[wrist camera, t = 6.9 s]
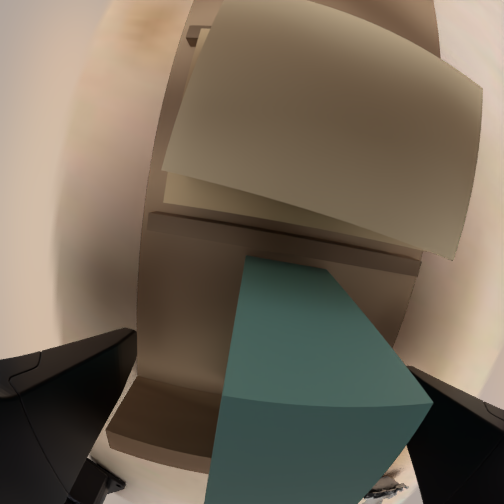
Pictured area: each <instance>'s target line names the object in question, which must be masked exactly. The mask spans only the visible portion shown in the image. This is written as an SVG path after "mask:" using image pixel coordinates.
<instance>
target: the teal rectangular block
mask: <svg viewBox="0 0 504 504" xmlns="http://www.w3.org/2000/svg"><path fill="white" fill-rule="evenodd" d="M432 404H433V401H432V400H431V398H430V397H429V396H428V394H427V393H426V392H425V390H424V389H423V388H422V386H421V385H420V384H419V382H418V381H417V380H416V378H415V377H414V376H413V375H412V373H411V372H410V371H409V369H408V368H407V367H406V365H405V364H404V363H403V362H402V360H401V359H400V358H399V356H398V355H397V354H396V353H395V351H394V350H393V349H392V348H391V346H390V345H389V344H388V343H387V341H386V340H385V339H384V338H383V336H382V335H381V334H380V333H379V331H378V330H377V329H376V328H375V326H374V325H373V324H372V323H371V321H370V320H369V319H368V318H367V317H366V315H365V314H364V313H363V312H362V311H361V309H360V308H359V307H358V306H357V305H356V303H355V302H354V301H353V300H352V299H351V297H350V296H349V295H348V294H347V293H346V291H345V290H344V289H343V288H342V287H341V286H340V284H339V283H338V282H337V281H336V280H335V279H334V277H333V276H332V275H331V274H330V273H329V272H328V270H327V269H322V268H316V267H310V266H305V265H299V264H293V263H287V262H282V261H276V260H270V259H264V258H259V257H253V256H247V255H246V258H245V264H244V269H243V275H242V281H241V286H240V292H239V298H238V304H237V309H236V315H235V321H234V327H233V333H232V338H231V344H230V350H229V356H228V362H227V368H226V374H225V379H224V385H223V391H222V397H221V403H220V409H219V415H218V421H217V428H216V434H215V440H214V446H213V452H212V458H211V464H210V470H209V477H208V483H207V489H206V495H205V502H204V504H358V503H359V502H360V501H361V500H362V498H363V497H364V496H365V495H366V494H367V493H368V492H369V491H370V490H371V489H372V488H373V486H374V485H375V484H376V483H377V482H378V481H379V479H380V478H381V477H382V476H383V475H384V473H385V472H386V471H387V470H388V469H389V467H390V466H391V465H392V463H393V462H394V461H395V460H396V458H397V457H398V456H399V454H400V453H401V452H402V450H403V449H404V447H405V446H406V445H407V443H408V442H409V440H410V439H411V438H412V436H413V435H414V433H415V432H416V430H417V429H418V427H419V426H420V424H421V422H422V421H423V419H424V418H425V416H426V414H427V413H428V411H429V410H430V408H431V406H432Z"/></svg>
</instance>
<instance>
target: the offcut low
mask: <svg viewBox="0 0 504 504" xmlns="http://www.w3.org/2000/svg"><path fill="white" fill-rule="evenodd" d="M209 31H210V29H204V28H201V31H200V34H199V37H198V41H197V44H196V48H195V51H194V55H193V58H192V62H191V66H190V69H189V73H188V77H187V81H186V85H185V89H184V93H183V97H184V94H185V91H186V89H187V86H188V83H189V80H190V78H191V75H192V72H193V70H194V67H195V64H196V62H197V59H198V57H199V54H200V52H201V49H202V47H203V45H204V42H205V40H206V38H207V35H208V33H209ZM182 100H183V98H182ZM181 103H182V102H181ZM163 203H169V204H176V205H183V206H190V207H196V208H203V209H209V210H215V211H222V212H228V213H234V214H240V215H246V216H252V217H257V218H263V219H269V220H275V221H280V222H286V223H291V224H296V225H302V226H307V227H312V228H318V229H323V230H328V231H333V232H338V233H343V234H348V235H353V236H358V237H362V238H367V239H372V240H377V241H381V242H386V243H391V244H395V245H400V246H404V247H409V248H413V249H417V250H422V251H426V250H423V249H420V248H418V247H415V246H413V245H410V244H407V243H405V242H402V241H399V240H396V239H394V238H391V237H388V236H385V235H383V234H380V233H377V232H374V231H371V230H368V229H365V228H363V227H360V226H357V225H354V224H351V223H348V222H345V221H342V220H339V219H336V218H333V217H329V216H326V215H323V214H320V213H317V212H314V211H311V210H307V209H304V208H301V207H298V206H294V205H291V204H288V203H284V202H281V201H278V200H274V199H271V198H267V197H264V196H260V195H257V194H253V193H249V192H246V191H242V190H239V189H235V188H231V187H227V186H224V185H220V184H216V183H212V182H208V181H204V180H200V179H196V178H192V177H188V176H184V175H180V174H175V173H171V172H168V174H167V180H166V187H165V193H164V201H163ZM426 252H427V251H426Z"/></svg>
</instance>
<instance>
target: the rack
mask: <svg viewBox="0 0 504 504" xmlns="http://www.w3.org/2000/svg"><path fill="white" fill-rule="evenodd" d="M223 1H224V0H194V1H193V4H192V6H191V9H190V12H189V15H188V18H187V20H186V23H185V26H184V29H183V32H182V35H181V39H180V42H179V45H178V48H177V51H176V55H175V58H174V62H173V65H172V69H171V72H170V76H169V80H168V84H167V88H166V92H165V96H164V100H163V104H162V109H161V113H160V117H159V122H158V127H157V132H156V137H155V142H154V147H153V153H152V159H151V164H150V171H149V177H148V184H147V191H146V198H145V206H144V214H143V223H142V233H141V244H140V256H139V271H138V290H137V374H138V376H137V377H136V379H135V381H134V382H133V384H132V386H131V387H130V389H129V391H128V392H127V394H126V396H125V397H124V399H123V401H122V402H121V404H120V406H119V407H118V409H117V411H116V413H115V414H114V416H113V418H112V419H111V421H110V423H109V425H108V426H107V428H106V434H107V438H108V442H109V446H110V448H112V449H114V450H117V451H120V452H123V453H126V454H129V455H132V456H135V457H138V458H142V459H145V460H149V461H152V462H156V463H159V464H163V465H167V466H171V467H175V468H180V469H184V470H189V471H194V472H199V473H205V474H209V470H210V464H211V458H212V452H213V446H214V440H215V434H216V428H217V421H218V415H219V409H220V403H221V397H222V391H223V385H224V379H225V374H226V368H227V362H228V356H229V350H230V344H231V338H232V333H233V327H234V321H235V315H236V309H237V304H238V298H239V292H240V286H241V281H242V275H243V269H244V264H245V258H246V255H247V256H253V257H259V258H264V259H270V260H276V261H282V262H287V263H293V264H299V265H305V266H310V267H316V268H322V269H327V270H328V272H329V273H330V274H331V275H332V276H333V277H334V279H335V280H336V281H337V282H338V283H339V284H340V286H341V287H342V288H343V289H344V290H345V291H346V293H347V294H348V295H349V296H350V297H351V299H352V300H353V301H354V302H355V303H356V305H357V306H358V307H359V308H360V309H361V311H362V312H363V313H364V314H365V315H366V317H367V318H368V319H369V320H370V321H371V323H372V324H373V325H374V326H375V328H376V329H377V330H378V331H379V333H380V334H381V335H382V336H383V338H384V339H385V340H386V341H387V343H388V344H389V345H390V346H391V348H393V345H394V343H395V340H396V337H397V335H398V332H399V329H400V327H401V324H402V321H403V318H404V315H405V312H406V309H407V306H408V303H409V300H410V297H411V293H412V290H413V287H414V283H415V280H416V277H418V273H419V269H420V266H421V257H422V253H423V251H422V250H417V249H413V248H409V247H404V246H400V245H395V244H391V243H386V242H381V241H377V240H372V239H367V238H362V237H358V236H353V235H348V234H343V233H338V232H333V231H328V230H323V229H318V228H312V227H307V226H302V225H296V224H291V223H286V222H280V221H275V220H269V219H263V218H257V217H252V216H246V215H240V214H234V213H228V212H222V211H215V210H209V209H203V208H196V207H190V206H183V205H176V204H169V203H163V201H164V193H165V187H166V180H167V174H168V172H167V171H163V170H161V169H162V165H163V162H164V158H165V154H166V151H167V147H168V144H169V141H170V137H171V134H172V131H173V127H174V124H175V121H176V118H177V115H178V112H179V109H180V106H181V102H182V98H183V93H184V89H185V85H186V81H187V77H188V73H189V69H190V66H191V62H192V58H193V55H194V51H195V48H196V44H197V41H198V37H199V34H200V31H201V28H204V29H210V28H211V26H212V24H213V22H214V19H215V17H216V15H217V13H218V11H219V9H220V7H221V5H222V3H223ZM308 1H311V2H315V3H318V4H321V5H325V6H328V7H331V8H334V9H337V10H340V11H342V12H345V13H348V14H351V15H353V16H356V17H358V18H361V19H363V20H366V21H368V22H371V23H373V24H375V25H378V26H380V27H382V28H384V29H386V30H389V31H391V32H393V33H395V34H397V35H399V36H401V37H403V38H405V39H407V40H409V41H410V42H412V43H414V44H416V45H418V46H420V47H421V48H423V49H425V50H427V51H428V52H430V53H432V54H433V55H435V56H437V57H438V58H440V46H439V36H438V28H437V20H436V14H435V8H434V2H433V0H308ZM440 59H441V58H440Z"/></svg>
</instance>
